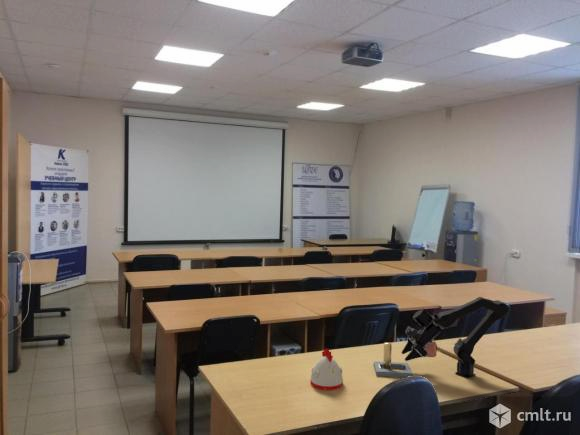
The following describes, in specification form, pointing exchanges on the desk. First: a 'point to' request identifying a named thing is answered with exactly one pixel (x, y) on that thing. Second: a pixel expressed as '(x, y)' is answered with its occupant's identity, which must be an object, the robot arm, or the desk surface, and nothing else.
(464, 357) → the robot arm
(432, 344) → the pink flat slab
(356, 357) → the desk surface
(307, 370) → the desk surface
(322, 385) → the kitchen timer
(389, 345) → the brass peg
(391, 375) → the square frame
